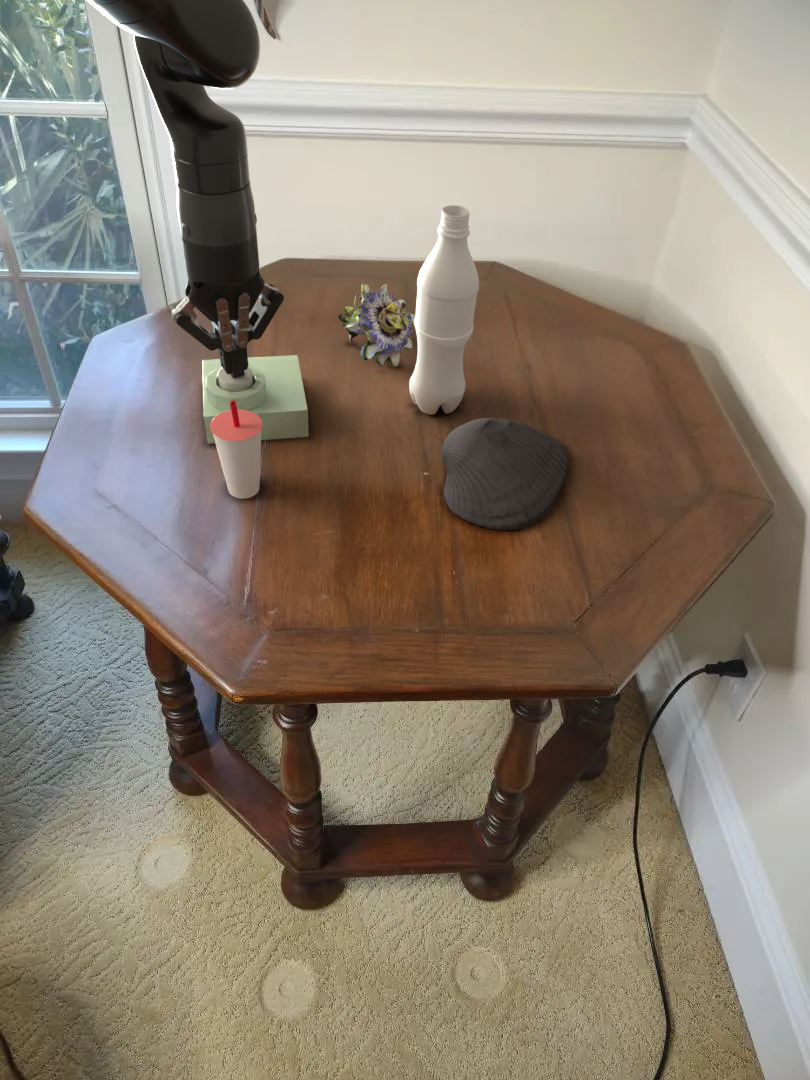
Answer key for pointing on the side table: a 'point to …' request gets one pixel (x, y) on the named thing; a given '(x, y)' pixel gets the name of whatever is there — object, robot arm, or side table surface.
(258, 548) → the side table surface
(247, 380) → the button
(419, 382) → the water bottle
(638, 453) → the side table surface
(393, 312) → the passion flower
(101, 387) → the side table surface
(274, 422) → the green button box
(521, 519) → the seashell
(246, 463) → the cup
